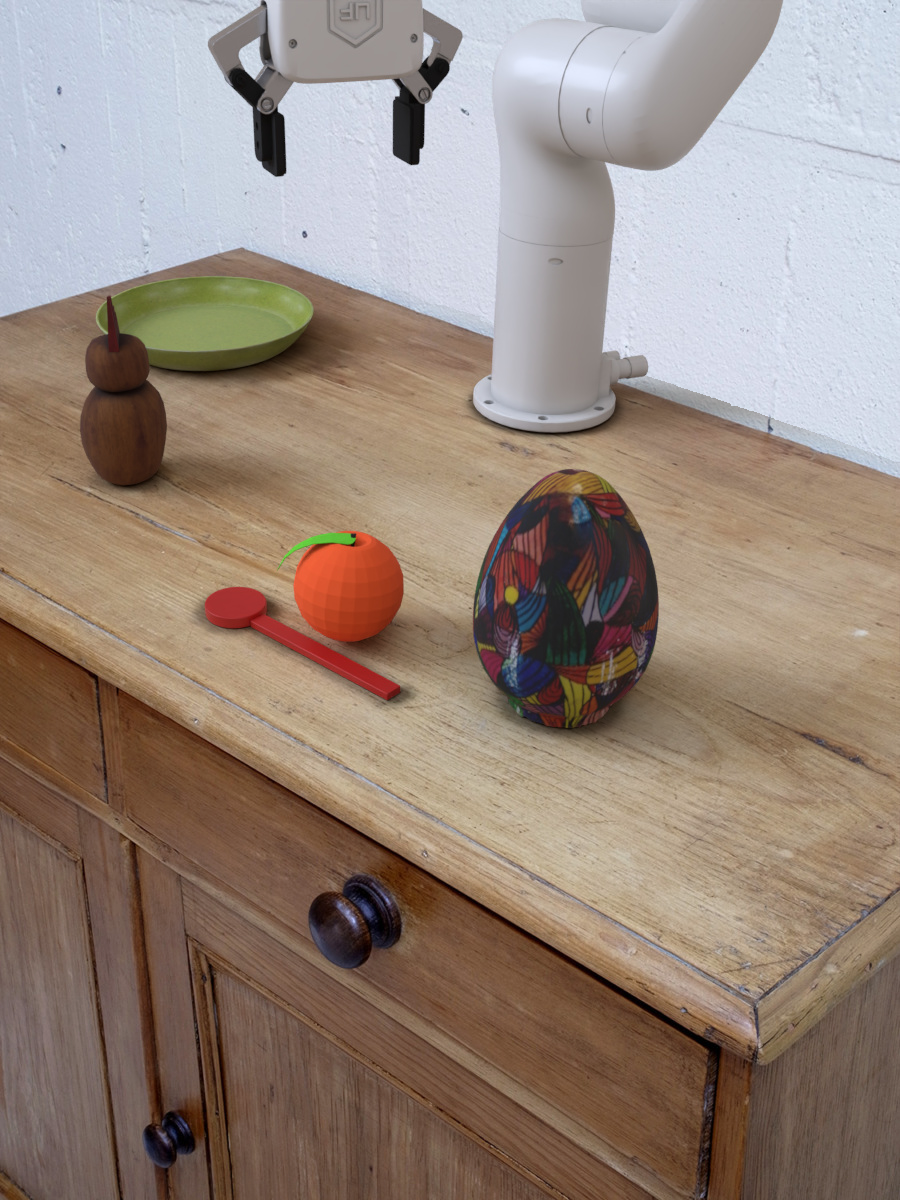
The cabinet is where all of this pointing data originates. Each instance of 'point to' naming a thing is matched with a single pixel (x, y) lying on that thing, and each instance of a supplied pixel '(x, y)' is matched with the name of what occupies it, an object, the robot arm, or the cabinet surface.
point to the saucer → (210, 320)
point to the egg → (566, 601)
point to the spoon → (288, 636)
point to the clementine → (347, 585)
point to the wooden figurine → (121, 408)
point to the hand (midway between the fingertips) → (341, 166)
